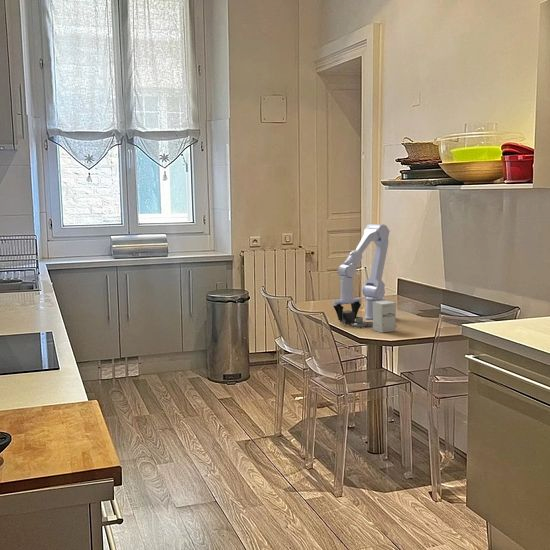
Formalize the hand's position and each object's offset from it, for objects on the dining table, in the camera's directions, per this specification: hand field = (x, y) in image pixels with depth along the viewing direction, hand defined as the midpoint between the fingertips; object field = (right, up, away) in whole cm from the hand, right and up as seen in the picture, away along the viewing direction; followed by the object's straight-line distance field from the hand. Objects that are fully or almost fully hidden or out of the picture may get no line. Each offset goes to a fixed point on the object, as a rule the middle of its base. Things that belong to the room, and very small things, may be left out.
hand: (347, 319), depth 324 cm
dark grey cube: (0, -1, 0) cm, 1 cm away
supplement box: (+14, -4, -18) cm, 23 cm away
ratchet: (+11, -2, -8) cm, 14 cm away
